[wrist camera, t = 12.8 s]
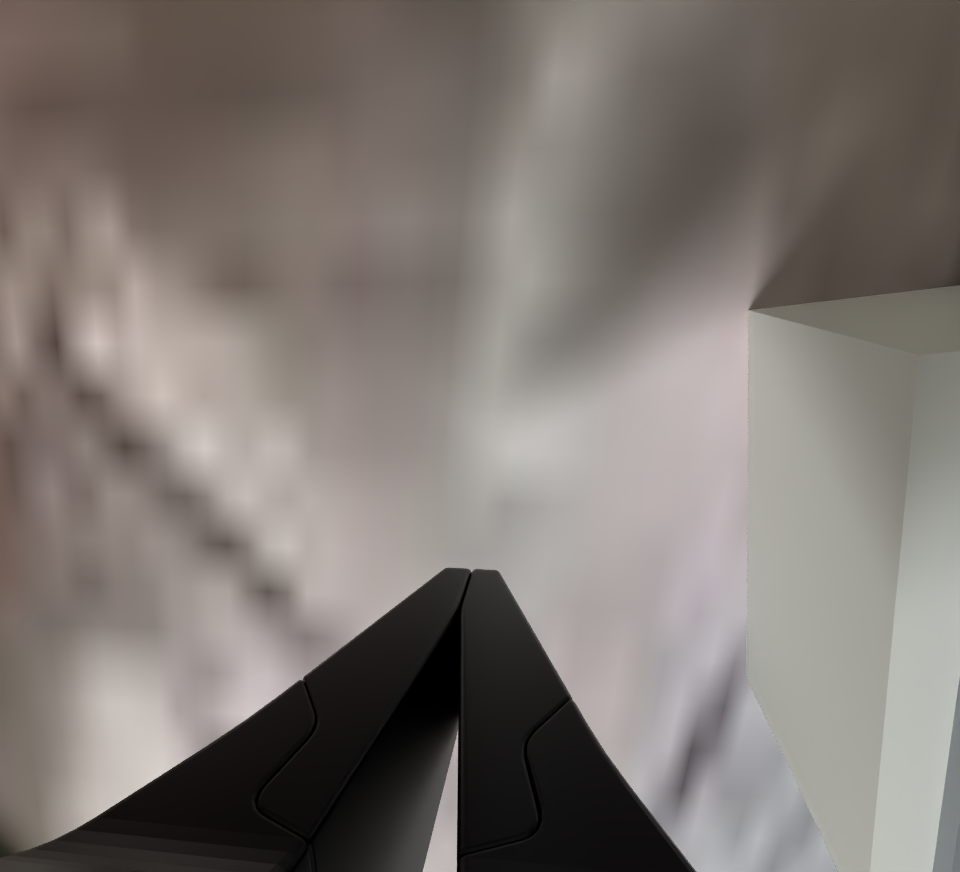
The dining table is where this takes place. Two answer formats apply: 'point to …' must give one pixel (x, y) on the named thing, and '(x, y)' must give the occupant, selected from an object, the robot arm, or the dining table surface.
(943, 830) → the block
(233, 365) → the dining table surface
